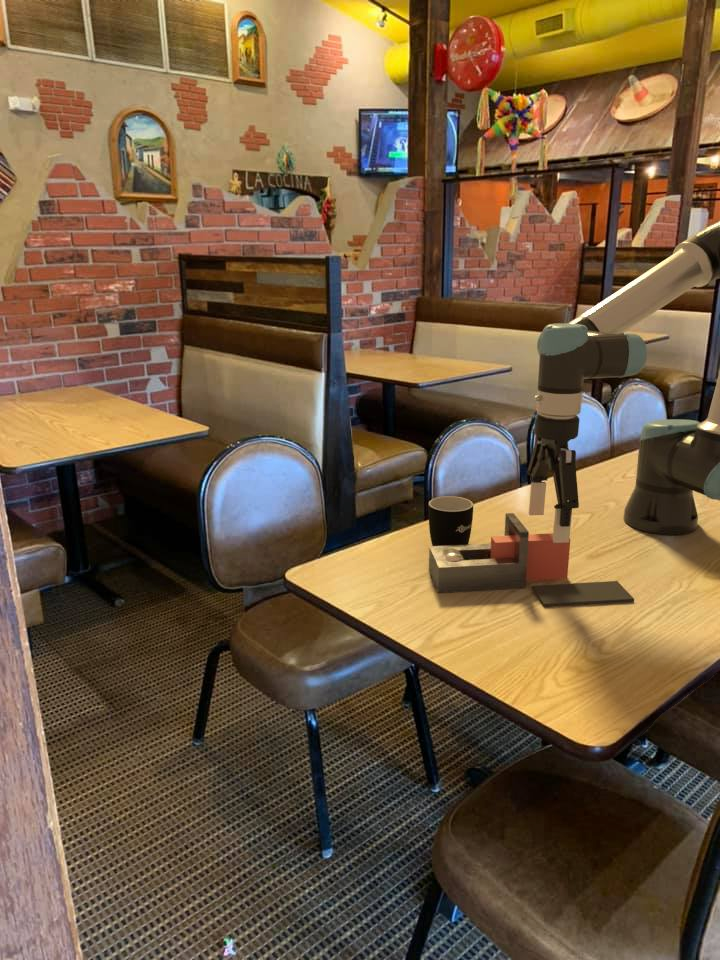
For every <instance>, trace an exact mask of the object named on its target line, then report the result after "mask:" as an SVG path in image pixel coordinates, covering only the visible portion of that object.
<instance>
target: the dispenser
mask: <svg viewBox="0 0 720 960" xmlns="http://www.w3.org/2000/svg"><path fill="white" fill-rule="evenodd" d="M504 520H505V521H504V536H510V535H516V543H515V558H500V559H490V552H491V542H490V543H474V544H473V543H471V544H469V543H468V545H449V546H430V545H429V549H428V550H429V551H428V553H429V554H428V557H429V558H428V571H429V574H430V576H431V578H432V581H433V583H434V586H435V588H436V591H437V593H438V594H447V593H461V592H463V593H464V592H465V593H466V592H476V591H477V592H482V591H497V590H500V591H501V590H518V589H526V583H527V580H526V570H527V554H528V537H529V535H530V532H529V530H528V529H527V528H526V526H525V525H524V524H523V523H522V522H521V520H520V519H519V518H518V516H516V515H515V513H514V512H510V513H505V518H504Z"/></svg>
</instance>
